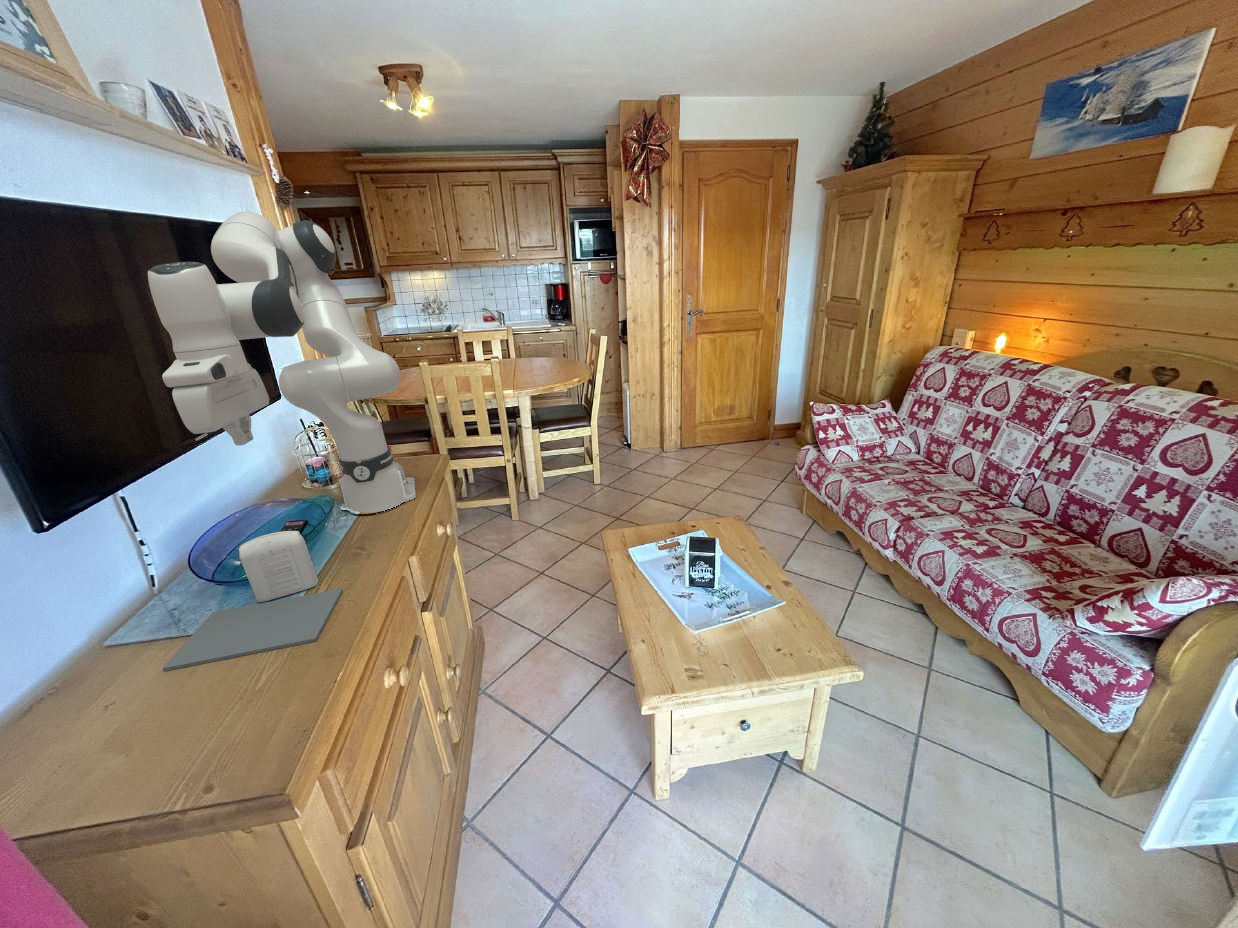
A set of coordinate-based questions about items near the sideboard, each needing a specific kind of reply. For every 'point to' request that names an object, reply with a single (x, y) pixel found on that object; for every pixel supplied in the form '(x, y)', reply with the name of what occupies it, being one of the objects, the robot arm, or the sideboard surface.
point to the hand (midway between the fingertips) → (245, 442)
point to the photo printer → (278, 565)
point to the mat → (257, 629)
